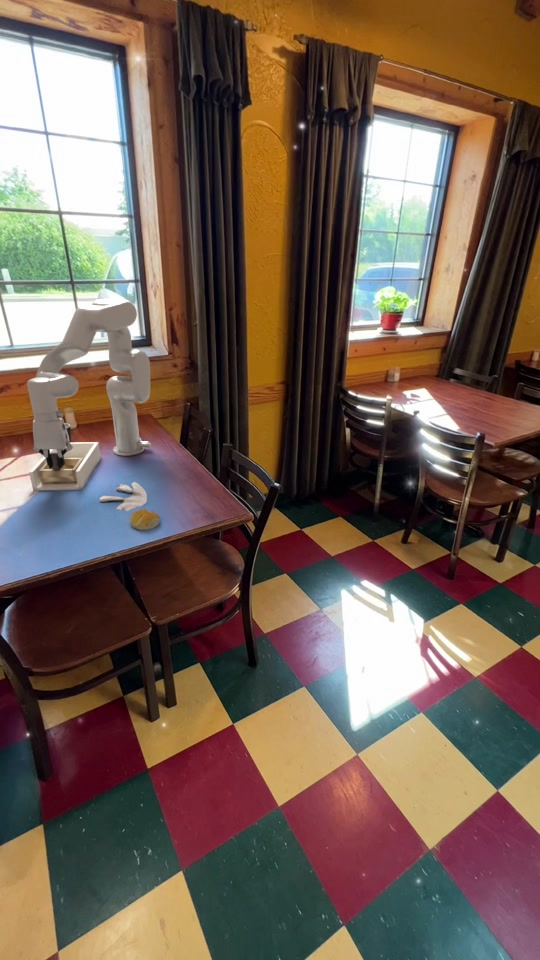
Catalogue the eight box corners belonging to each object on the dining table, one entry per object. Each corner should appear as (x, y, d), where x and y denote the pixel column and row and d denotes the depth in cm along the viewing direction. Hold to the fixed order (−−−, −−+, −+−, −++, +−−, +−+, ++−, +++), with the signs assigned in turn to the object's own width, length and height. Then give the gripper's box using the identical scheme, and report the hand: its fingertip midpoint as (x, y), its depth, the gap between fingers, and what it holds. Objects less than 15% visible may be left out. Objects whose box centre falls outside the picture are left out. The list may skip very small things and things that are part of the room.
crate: (85, 469, 166) (80, 442, 162) (76, 483, 156) (71, 454, 151) (52, 470, 165) (46, 443, 160) (40, 484, 155) (34, 455, 150)
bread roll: (144, 514, 142) (143, 503, 140) (164, 522, 138) (163, 511, 136) (123, 525, 135) (122, 513, 134) (144, 534, 131) (143, 522, 129)
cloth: (131, 517, 141) (130, 510, 140) (76, 503, 147) (75, 497, 146) (166, 490, 158) (166, 484, 157) (115, 479, 165) (115, 473, 164)
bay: (100, 458, 180) (98, 442, 177) (82, 489, 155) (79, 471, 152) (59, 458, 178) (55, 442, 175) (33, 490, 153) (29, 472, 150)
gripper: (75, 412, 150) (83, 462, 158) (25, 412, 148) (36, 462, 156) (68, 419, 143) (77, 470, 151) (16, 419, 142) (28, 471, 150)
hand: (56, 466), depth 154 cm, fingers open, 2 cm apart
